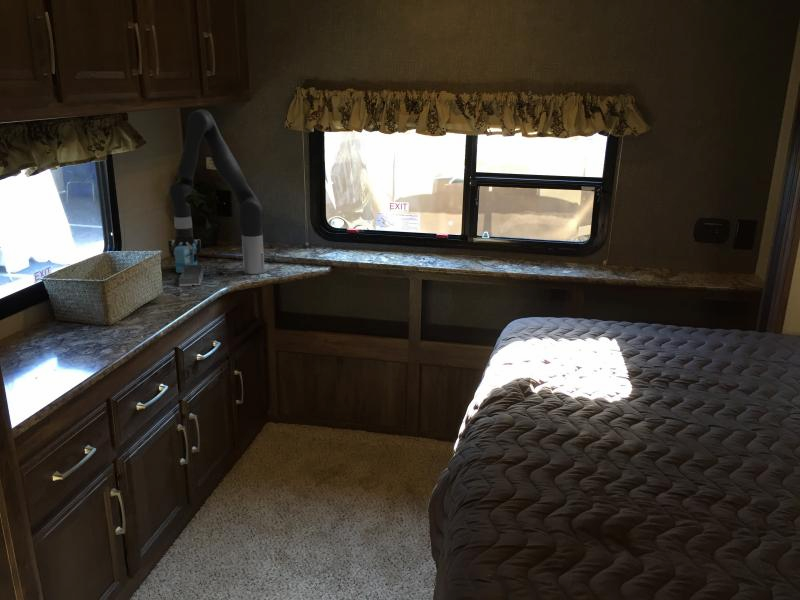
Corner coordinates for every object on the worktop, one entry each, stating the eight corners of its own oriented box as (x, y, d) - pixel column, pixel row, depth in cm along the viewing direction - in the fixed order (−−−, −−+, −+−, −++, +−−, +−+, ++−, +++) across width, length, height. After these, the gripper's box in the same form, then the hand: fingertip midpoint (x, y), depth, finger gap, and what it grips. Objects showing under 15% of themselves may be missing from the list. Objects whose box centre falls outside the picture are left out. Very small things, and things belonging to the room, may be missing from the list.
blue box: (185, 274, 303) (183, 248, 300) (176, 273, 304) (173, 247, 300) (197, 267, 314) (196, 242, 311) (188, 266, 315) (186, 241, 312)
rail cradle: (203, 275, 302) (202, 264, 301) (199, 285, 287) (198, 274, 286) (184, 275, 301) (183, 265, 299) (179, 286, 286) (178, 275, 284)
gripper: (201, 224, 308) (203, 259, 313) (168, 224, 305) (171, 260, 310) (199, 227, 301) (201, 263, 306) (165, 228, 298) (168, 264, 303)
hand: (186, 262), depth 308 cm, fingers open, 7 cm apart
